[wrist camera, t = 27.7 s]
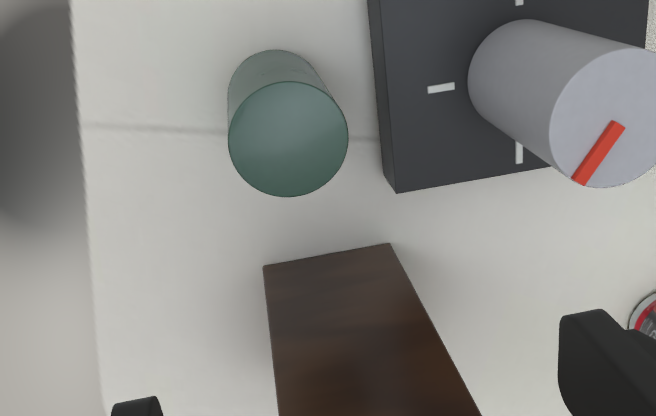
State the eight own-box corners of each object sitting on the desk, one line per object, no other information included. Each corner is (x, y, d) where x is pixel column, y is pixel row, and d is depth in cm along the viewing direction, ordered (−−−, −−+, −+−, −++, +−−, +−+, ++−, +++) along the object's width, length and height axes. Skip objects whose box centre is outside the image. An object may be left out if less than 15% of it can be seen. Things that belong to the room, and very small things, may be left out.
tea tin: (237, 150, 35) (240, 206, 28) (218, 57, 33) (216, 92, 26) (328, 135, 35) (354, 186, 28) (316, 42, 33) (341, 72, 26)
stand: (282, 370, 41) (319, 653, 25) (262, 265, 38) (289, 513, 22) (399, 346, 42) (510, 607, 26) (389, 242, 39) (509, 465, 22)
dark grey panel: (383, 175, 37) (396, 195, 34) (364, -21, 32) (378, -17, 29) (607, 136, 38) (638, 152, 35) (619, -59, 33) (656, -59, 31)
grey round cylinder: (507, -2, 31) (614, 20, 22) (590, 51, 32) (718, 92, 24) (446, 97, 32) (524, 154, 24) (529, 144, 34) (628, 212, 26)
